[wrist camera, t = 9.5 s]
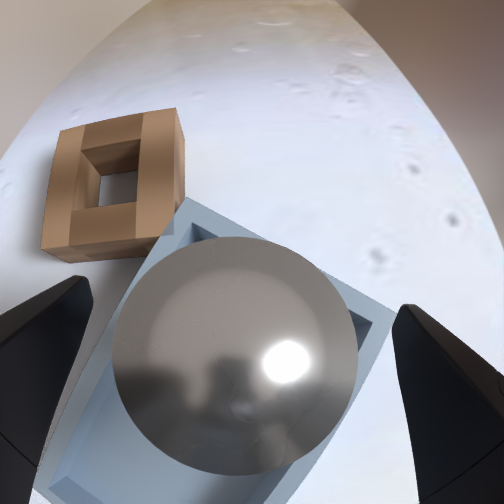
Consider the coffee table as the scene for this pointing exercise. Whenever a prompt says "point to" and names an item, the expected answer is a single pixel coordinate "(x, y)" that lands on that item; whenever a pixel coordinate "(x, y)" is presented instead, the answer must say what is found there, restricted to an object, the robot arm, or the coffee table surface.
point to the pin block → (105, 163)
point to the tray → (138, 446)
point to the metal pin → (235, 356)
